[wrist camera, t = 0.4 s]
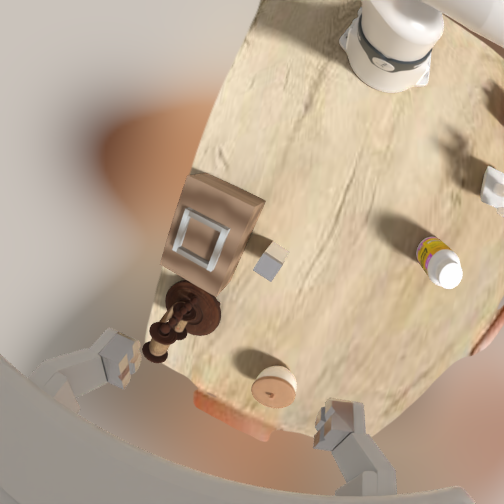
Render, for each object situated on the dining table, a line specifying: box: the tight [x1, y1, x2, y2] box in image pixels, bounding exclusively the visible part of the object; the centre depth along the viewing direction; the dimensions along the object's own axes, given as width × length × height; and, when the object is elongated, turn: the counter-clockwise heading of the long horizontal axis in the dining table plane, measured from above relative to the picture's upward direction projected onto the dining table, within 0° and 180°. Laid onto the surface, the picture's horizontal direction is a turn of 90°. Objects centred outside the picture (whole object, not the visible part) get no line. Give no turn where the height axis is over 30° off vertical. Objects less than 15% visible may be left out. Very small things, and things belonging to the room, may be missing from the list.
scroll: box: [142, 280, 221, 363], centre depth 59 cm, size 15×15×20 cm
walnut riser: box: [160, 173, 266, 297], centre depth 56 cm, size 20×14×10 cm
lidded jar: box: [251, 366, 297, 408], centre depth 64 cm, size 11×11×9 cm
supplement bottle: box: [416, 237, 462, 289], centre depth 43 cm, size 7×7×13 cm
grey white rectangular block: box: [253, 241, 290, 282], centre depth 55 cm, size 4×4×8 cm
